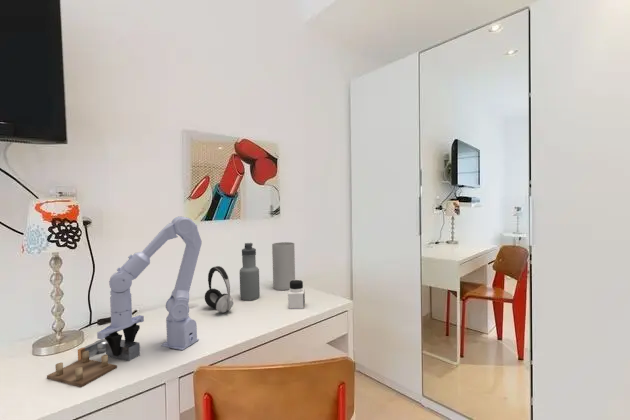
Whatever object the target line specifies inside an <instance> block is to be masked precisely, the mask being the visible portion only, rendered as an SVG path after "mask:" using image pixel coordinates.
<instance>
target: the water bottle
mask: <svg viewBox="0 0 630 420" xmlns="http://www.w3.org/2000/svg"><path fill="white" fill-rule="evenodd" d="M253 246H254V245H253V243H252V242H244V247H243V248H242V249H241V256H242V257H241V259H242V267H241V268H240V269H239V298H240V299H241V300H243V301H255V300H257V299H259V298H260V295H261V294H260V292H261V290H260V268H259V267H257V265H256V263H257V262H256V261H257V260H256V257H257V256H256V255H257V250H256V248H255V247H253Z"/></svg>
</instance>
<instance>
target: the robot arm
mask: <svg viewBox="0 0 630 420" xmlns="http://www.w3.org/2000/svg"><path fill="white" fill-rule="evenodd" d="M178 236H179V237H180V238H181V239H182V242H184V243H185V248H184V251H183V254H182V255H183V256H182V259H181V263H180V266H179V269H178V274H177V278H176V280H175V284H174V289H173V290H172V292H171V294H170V297H169V298H168V299H167V300H166V302H165V309H166V311H167V312H168V314H167V316H166V319H165V323H166V327H165V328H166V341H165V342H164V343H161V344H160V346H161V347H165V348H170V349H175V350H181V351H183V350H185V349H187V348H189V347H190V346H191V345H193V344H195V343H196V342H198V341H199V338H198V328H197V327H198V326H197V320H195V319H193V318H191V317H190V315H189V314H190V313H189V312H190V306H189V302H190V290H191V285H192V281H193V278H194V275H195V270H196V267H197V262H198V258H199V255H200V252H201V247H202V239H201V234H200V233H199V230H198V225H197V224H196V223H195V221H193V219H191V218H189V217H185V216H177V217H175V218H173V219H172V221H171V222H168V224H166V225H165V226H164V227H163V228H162V229H161V230H160V231H159V232H158V233H157V234H156V235H155V236H154V238H152V240H151V241H150V242H149V243H148V245H146V247H145V248H144V249H143V250H142V251H138V252H134V254H130V255H129V256H128V257H127V258H128V259H127V260H126V262H125V263H124V264H123V265H122V266H121V267H117V269H116V272H114V273H113V274H111V276H110V279H109V281H108V283H109V288H110V291H109V293H110V298H109V300H110V301H109V303H110V324H109V325H107V327H105V328H103V329H101V330H100V331H97V332H96V336H97V337H96V338H97V340H101V339H105V340H106V341H107V342H108V344H109V345H110V347H111V350H112V353H113V355H114V356H119V355H120V343H121V339H122V338H123V336H124V340H128V341H133V342H135V339H136V336H137V334H138V332H139V330H140V324H139V323H143V322H145V319H144V317H145V316H144V315H140V314H139V315H136V316H133V308H132V307H133V304H132V293H131V287H132V284H133V281H134V280H136V279H137V278H138V277H139V276H140V275H141V274H142V273H143V272H144V271H145V269H147V267H148V266H149V265H150V264H151V257H153V255H155V253H156V252H157V251H158V250H160V248H162V247H163V245H164V244H166V243H167V242H168V241H169V240H172V239H176V238H178ZM121 331H122V332H123V334H119V332H121Z"/></svg>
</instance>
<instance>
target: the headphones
mask: <svg viewBox="0 0 630 420" xmlns="http://www.w3.org/2000/svg"><path fill="white" fill-rule="evenodd" d="M215 272H217V273H219V274H220V276H221V278H222V279H223V282H224V284H225V287H226V292H227V293H222V292H221V291H220V290H218V289H217V288H212V281H213V280H212V279H213V276H214V273H215ZM207 282H208V290H206V292H205V293H204V302H205V304H206V306H208V307H209V308H211V309H215V310H216V311H217V312H218V313H226V312H229V311H230V310H231V309H232V308H233V306H234V301H233V297H232V296H231V283H230V279H229V276H228V273H227V271H226V270H225V269H224V267H222V266H220V265H219V266H218V265H217V266H212V267H211V268H210V269H209V271H208V274H207Z"/></svg>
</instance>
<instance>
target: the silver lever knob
mask: <svg viewBox="0 0 630 420" xmlns="http://www.w3.org/2000/svg"><path fill="white" fill-rule="evenodd" d="M106 343H108V342H107V341H106V340H105V338H104V339H97V340H96V341H94V342H92V343H91V344H88V345H86V346H84V347H81V348H78V349H77V361H79V360H81V359H83V356H82V353H83V352H84V351H89V359H90V358H91V357H93V356H96V355H100V354H103V353H104V354H106Z"/></svg>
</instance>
